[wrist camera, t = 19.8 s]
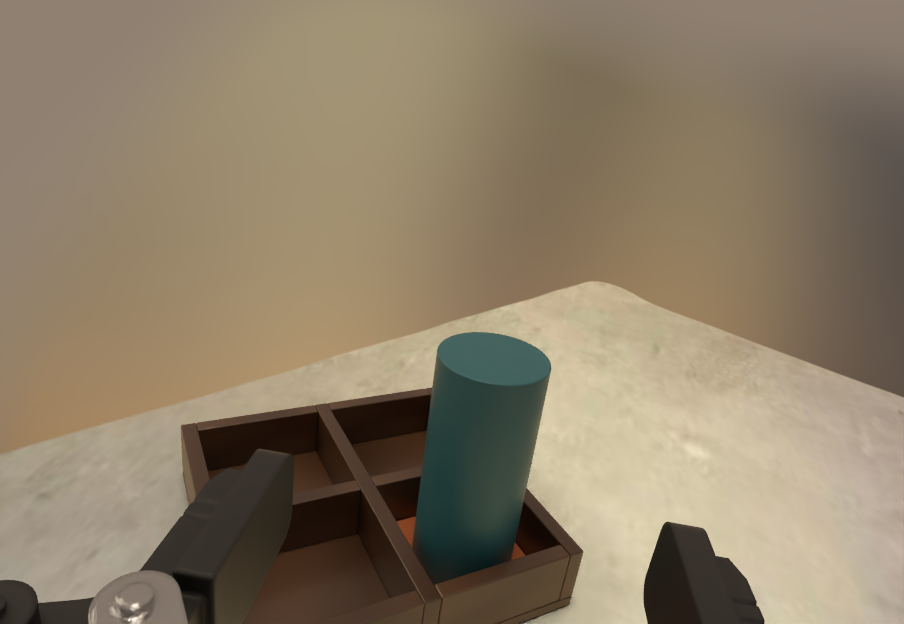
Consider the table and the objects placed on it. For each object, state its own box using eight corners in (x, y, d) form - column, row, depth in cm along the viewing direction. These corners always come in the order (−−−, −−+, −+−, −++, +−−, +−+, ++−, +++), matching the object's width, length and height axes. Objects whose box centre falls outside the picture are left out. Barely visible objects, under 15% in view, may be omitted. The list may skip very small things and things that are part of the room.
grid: (232, 732, 20) (231, 667, 19) (183, 475, 31) (180, 424, 30) (569, 604, 27) (584, 551, 26) (430, 429, 38) (435, 386, 37)
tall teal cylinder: (438, 609, 25) (472, 392, 21) (395, 535, 28) (418, 337, 25) (529, 579, 27) (575, 376, 23) (478, 513, 30) (511, 327, 27)
